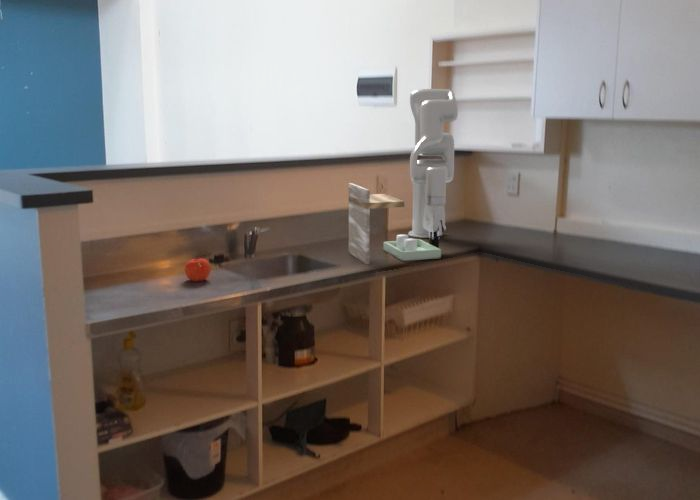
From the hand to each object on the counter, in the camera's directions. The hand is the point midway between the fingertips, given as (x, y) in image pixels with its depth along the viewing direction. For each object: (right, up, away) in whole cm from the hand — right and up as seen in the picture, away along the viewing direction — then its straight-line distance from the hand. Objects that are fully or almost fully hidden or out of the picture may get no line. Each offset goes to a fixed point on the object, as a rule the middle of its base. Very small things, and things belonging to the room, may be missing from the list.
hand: (434, 249), depth 265 cm
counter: (-22, -3, -7) cm, 23 cm away
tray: (-9, -2, -2) cm, 9 cm away
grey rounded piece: (-12, 0, 0) cm, 12 cm away
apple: (-80, -10, -39) cm, 89 cm away
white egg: (-9, -2, -7) cm, 12 cm away
